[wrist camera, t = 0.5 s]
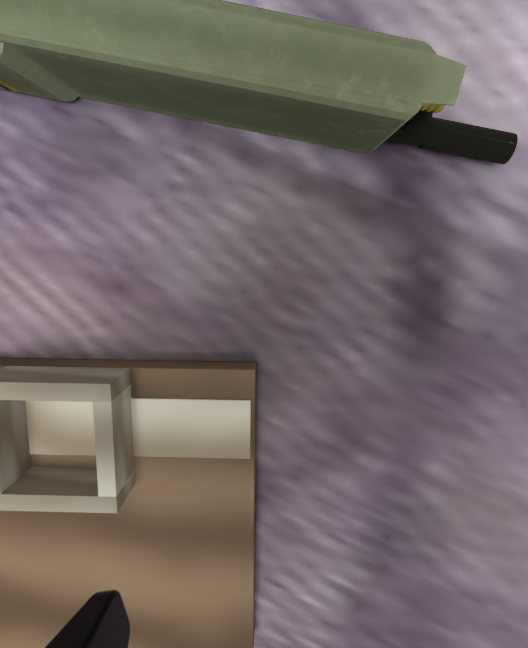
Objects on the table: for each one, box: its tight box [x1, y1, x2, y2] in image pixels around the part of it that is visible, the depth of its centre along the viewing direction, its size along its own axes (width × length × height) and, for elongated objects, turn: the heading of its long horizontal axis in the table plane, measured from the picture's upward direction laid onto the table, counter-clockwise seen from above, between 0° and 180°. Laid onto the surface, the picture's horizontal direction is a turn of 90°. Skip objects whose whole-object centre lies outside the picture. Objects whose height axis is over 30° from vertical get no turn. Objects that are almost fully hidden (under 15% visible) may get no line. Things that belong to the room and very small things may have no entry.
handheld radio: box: [0, 0, 517, 164], centre depth 17 cm, size 7×3×25 cm
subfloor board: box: [0, 358, 256, 648], centre depth 21 cm, size 16×23×4 cm
